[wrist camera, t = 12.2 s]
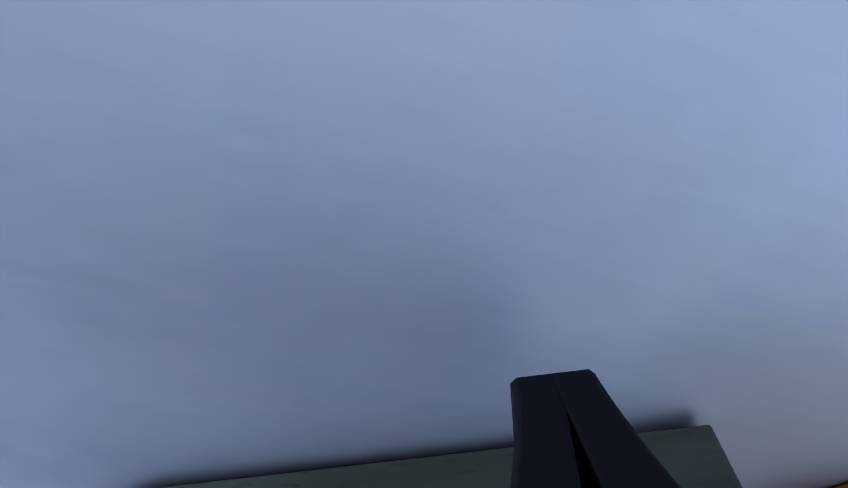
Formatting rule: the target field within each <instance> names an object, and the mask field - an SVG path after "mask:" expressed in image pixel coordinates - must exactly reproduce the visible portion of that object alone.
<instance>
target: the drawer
mask: <svg viewBox="0 0 848 488" xmlns="http://www.w3.org/2000/svg"><path fill="white" fill-rule="evenodd" d="M637 435H638V436H639V437H640V438H641V440H642V441H643V442H644V443H645V445H646V446H647V447H648V449H649V450H650V451H651V452H652V453H653V455H654V456H655V457H656V458H657V459H658V461H659V462H660V463H661V464H662V465H663V467H664V468H665V469H666V470H667V471H668V473H669V474H670V475H671V476H672V477H673V479H674V480H675V481H676V482H677V483H678V484H679V486H680V487H681V488H742V486H741V484H740V482H739V480H738V478H737V476H736V474H735V472H734V470H733V468H732V466H731V464H730V462H729V460H728V458H727V456H726V454H725V452H724V451H723V449H722V447H721V445H720V443H719V441H718V439H717V437H716V435H715V433H714V431H713V429H712V427H711V426H710V425H702V426H693V427H684V428H675V429H667V430H658V431H649V432H640V433H637ZM513 452H514V447H510V448H501V449H492V450H483V451H475V452H466V453H457V454H449V455H440V456H431V457H422V458H414V459H405V460H396V461H387V462H379V463H370V464H361V465H353V466H344V467H335V468H326V469H318V470H309V471H300V472H291V473H283V474H274V475H265V476H257V477H248V478H239V479H230V480H222V481H213V482H204V483H196V484H187V485H178V486H169V487H161V488H510V483H511V473H512V462H513Z"/></svg>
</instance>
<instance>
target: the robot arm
mask: <svg viewBox="0 0 848 488" xmlns="http://www.w3.org/2000/svg"><path fill="white" fill-rule="evenodd" d="M510 388H511V402H512V417H513V432H514V452H513V462H512V473H511V483H510V488H681V487H680V486H679V484H678V483H677V482H676V481H675V480H674V479H673V477H672V476H671V475H670V474H669V473H668V471H667V470H666V469H665V468H664V467H663V465H662V464H661V463H660V462H659V461H658V459H657V458H656V457H655V456H654V455H653V453H652V452H651V451H650V450H649V449H648V447H647V446H646V445H645V443H644V442H643V441H642V440H641V438H640V437H639V436H638V435H637V433H636V432H635V431H634V429H633V428H632V427H631V425H630V424H629V423H628V421H627V420H626V419H625V417H624V416H623V415H622V413H621V412H620V410H619V409H618V408H617V406H616V405H615V403H614V402H613V400H612V399H611V398H610V396H609V395H608V393H607V392H606V390H605V389H604V387H603V386H602V384H601V383H600V381H599V379H598V378H597V376H596V374H595V373H593V372H592V371H590V370H589V369H587V370H579V371H570V372H562V373H553V374H545V375H536V376H528V377H520V378H516V379H515V380H514V381H513V382H511V383H510Z"/></svg>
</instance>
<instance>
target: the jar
mask: <svg viewBox="0 0 848 488" xmlns="http://www.w3.org/2000/svg"><path fill="white" fill-rule="evenodd" d="M834 488H848V483H847V484H843V485H840V486H837V487H834Z"/></svg>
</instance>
